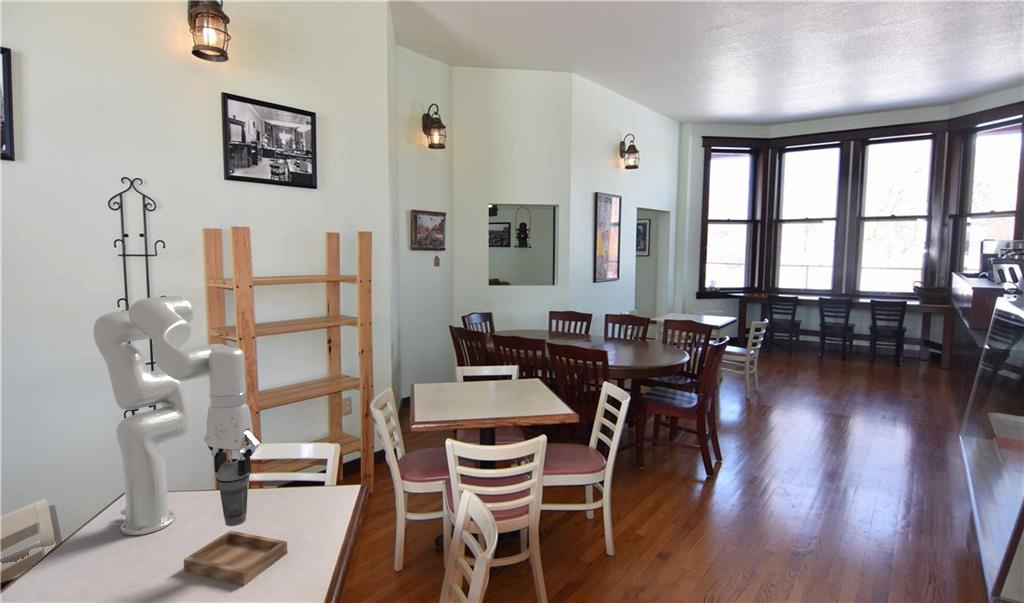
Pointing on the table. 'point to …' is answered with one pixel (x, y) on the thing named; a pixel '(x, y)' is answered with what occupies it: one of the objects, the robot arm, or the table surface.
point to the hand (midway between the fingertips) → (232, 471)
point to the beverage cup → (233, 492)
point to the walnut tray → (235, 557)
